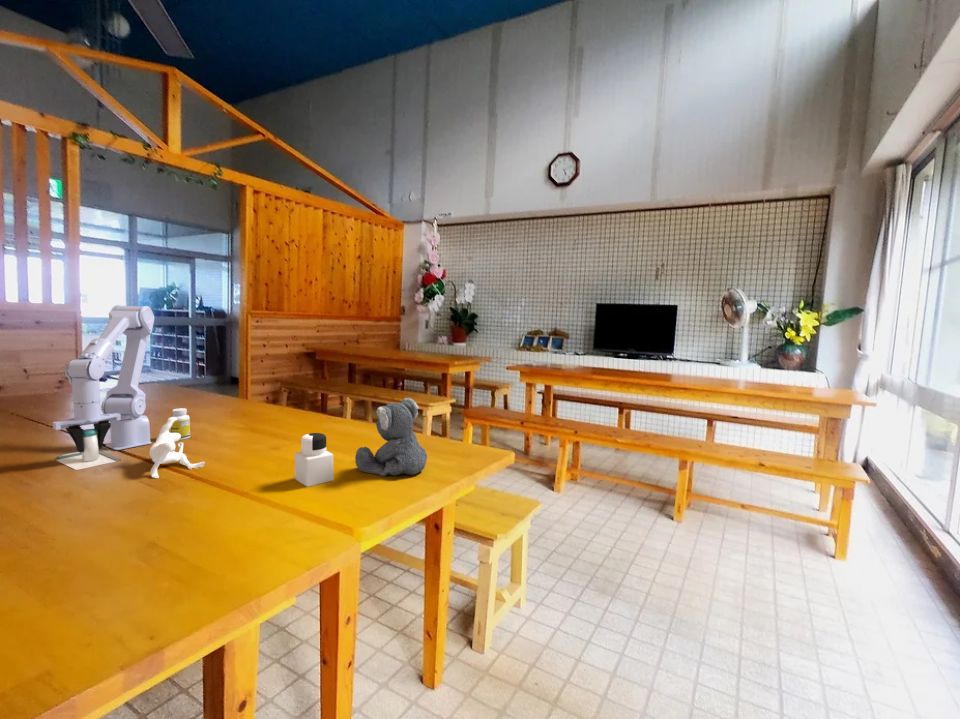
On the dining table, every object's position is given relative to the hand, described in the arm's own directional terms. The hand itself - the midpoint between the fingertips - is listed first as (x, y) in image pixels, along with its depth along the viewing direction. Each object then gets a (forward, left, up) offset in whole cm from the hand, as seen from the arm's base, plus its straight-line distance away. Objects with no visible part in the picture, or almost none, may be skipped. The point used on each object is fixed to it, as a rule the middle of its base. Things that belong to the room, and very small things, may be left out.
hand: (90, 449), depth 129 cm
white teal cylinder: (0, 0, -3) cm, 3 cm away
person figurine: (-10, +22, -3) cm, 24 cm away
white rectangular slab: (0, -1, -3) cm, 3 cm away
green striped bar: (0, -9, -3) cm, 10 cm away
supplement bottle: (-26, -5, -3) cm, 26 cm away
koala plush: (-45, +73, -3) cm, 86 cm away
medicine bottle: (-26, +62, -3) cm, 68 cm away
